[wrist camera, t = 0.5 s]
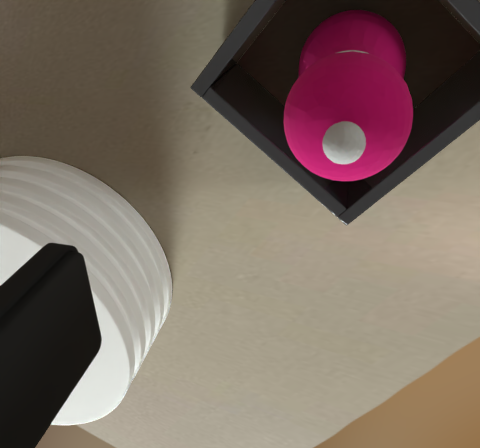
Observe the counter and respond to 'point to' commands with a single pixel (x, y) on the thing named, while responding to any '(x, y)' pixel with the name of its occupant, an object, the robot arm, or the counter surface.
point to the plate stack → (89, 267)
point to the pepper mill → (349, 98)
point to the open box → (272, 111)
